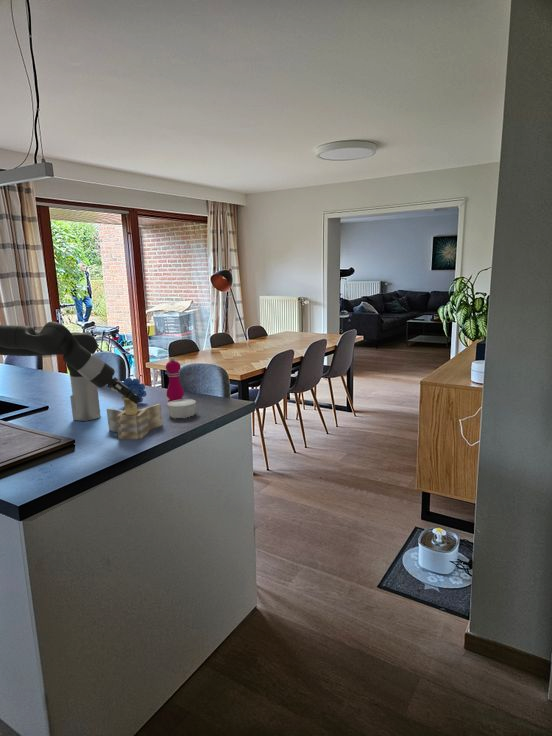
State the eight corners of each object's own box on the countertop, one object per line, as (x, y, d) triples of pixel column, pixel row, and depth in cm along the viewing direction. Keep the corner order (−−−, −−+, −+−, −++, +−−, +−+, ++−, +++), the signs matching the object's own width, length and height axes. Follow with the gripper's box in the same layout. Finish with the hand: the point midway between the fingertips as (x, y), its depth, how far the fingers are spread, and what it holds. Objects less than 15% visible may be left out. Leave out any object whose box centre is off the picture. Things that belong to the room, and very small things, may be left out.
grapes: (122, 408, 197) (119, 380, 195) (118, 405, 203) (115, 377, 200) (150, 404, 203) (147, 376, 201) (145, 400, 209) (142, 373, 206)
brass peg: (125, 437, 161) (120, 397, 158) (129, 433, 165) (125, 394, 162) (137, 437, 160) (133, 397, 158) (142, 433, 165) (138, 393, 162)
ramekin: (186, 409, 192) (185, 397, 191) (203, 414, 184) (202, 401, 183) (162, 416, 185) (161, 403, 184) (178, 421, 177) (177, 408, 176)
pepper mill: (176, 406, 197) (172, 359, 193) (163, 405, 201) (159, 358, 197) (188, 402, 203) (184, 356, 199) (175, 400, 207) (172, 355, 203)
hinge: (97, 439, 160) (94, 416, 158) (114, 425, 174) (112, 404, 173) (149, 438, 158) (147, 415, 157) (162, 424, 173) (161, 403, 172)
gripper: (83, 376, 158) (122, 404, 166) (92, 383, 146) (134, 413, 154) (98, 358, 160) (136, 386, 168) (108, 364, 148) (149, 394, 156)
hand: (135, 399), depth 161 cm, fingers open, 7 cm apart
